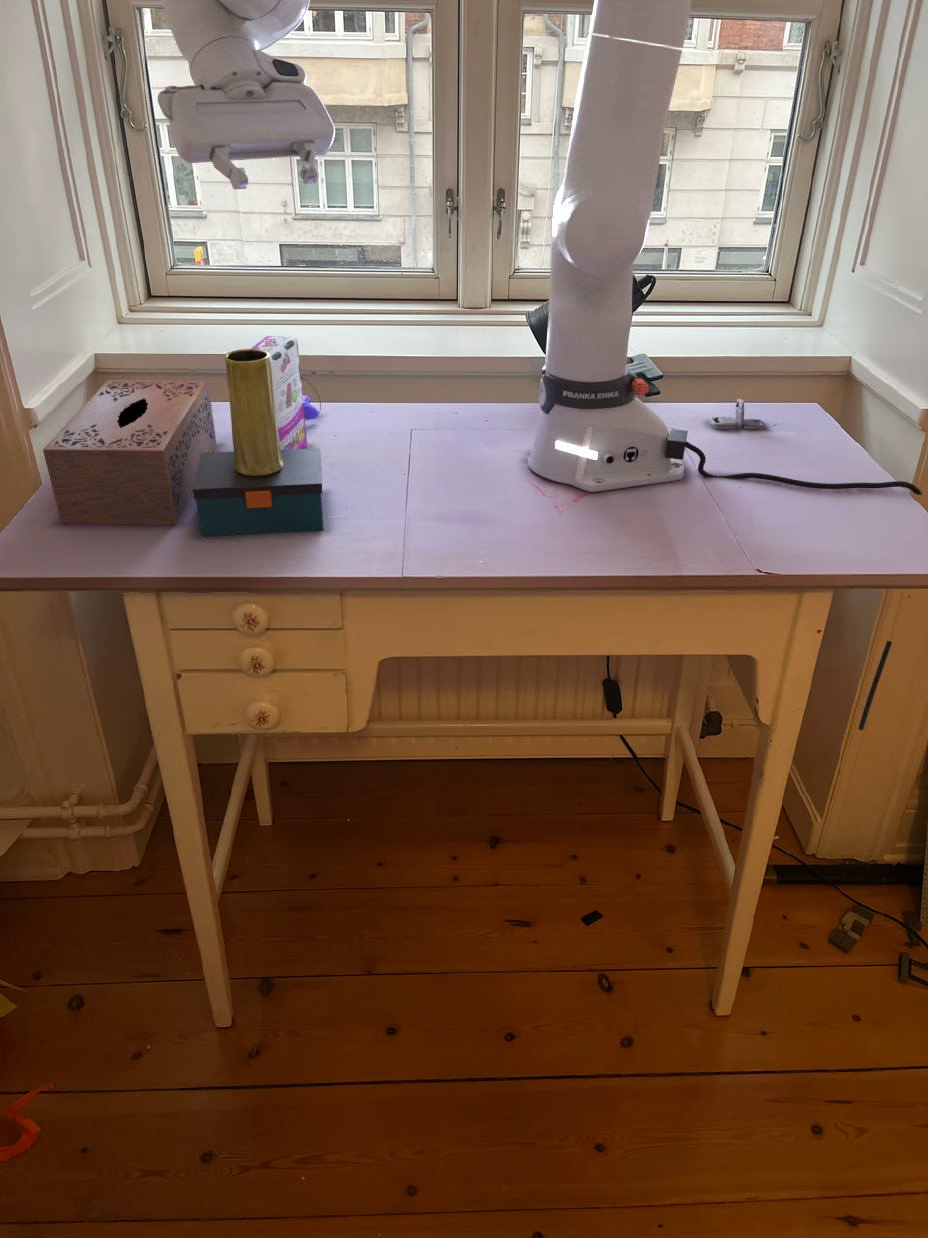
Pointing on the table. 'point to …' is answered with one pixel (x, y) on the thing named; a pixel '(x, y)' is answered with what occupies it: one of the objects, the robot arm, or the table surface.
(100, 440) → the tissue box cover
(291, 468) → the lunchbox
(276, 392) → the candy bar box
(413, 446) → the table surface
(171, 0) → the robot arm
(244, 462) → the vase
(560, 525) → the table surface
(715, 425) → the grey t-shaped piece
